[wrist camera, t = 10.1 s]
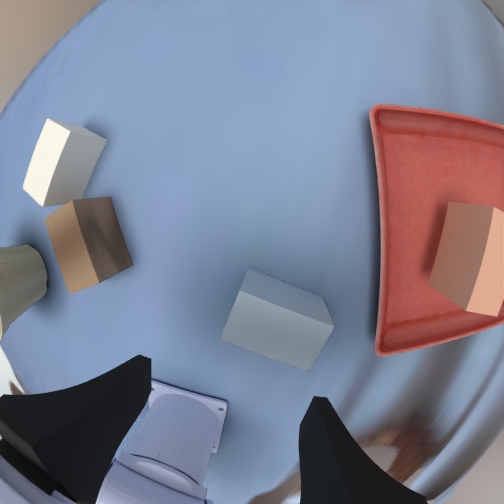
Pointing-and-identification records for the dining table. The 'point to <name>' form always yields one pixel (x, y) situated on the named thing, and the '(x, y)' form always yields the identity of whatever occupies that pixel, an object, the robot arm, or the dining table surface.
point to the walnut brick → (87, 242)
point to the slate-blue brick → (278, 320)
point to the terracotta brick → (471, 258)
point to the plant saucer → (427, 216)
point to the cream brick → (62, 163)
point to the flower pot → (19, 282)
